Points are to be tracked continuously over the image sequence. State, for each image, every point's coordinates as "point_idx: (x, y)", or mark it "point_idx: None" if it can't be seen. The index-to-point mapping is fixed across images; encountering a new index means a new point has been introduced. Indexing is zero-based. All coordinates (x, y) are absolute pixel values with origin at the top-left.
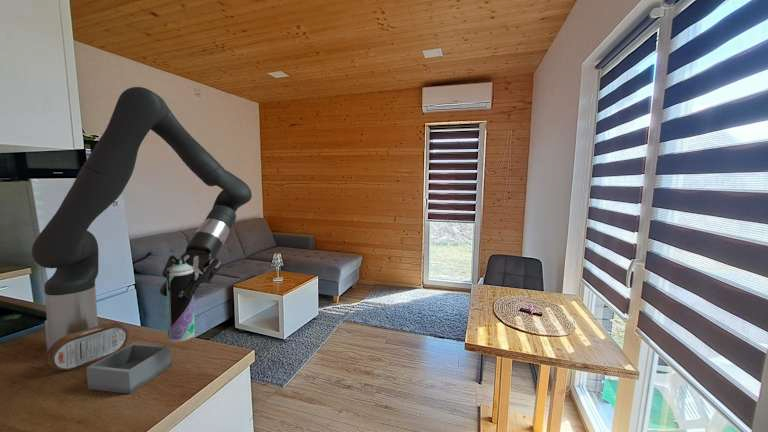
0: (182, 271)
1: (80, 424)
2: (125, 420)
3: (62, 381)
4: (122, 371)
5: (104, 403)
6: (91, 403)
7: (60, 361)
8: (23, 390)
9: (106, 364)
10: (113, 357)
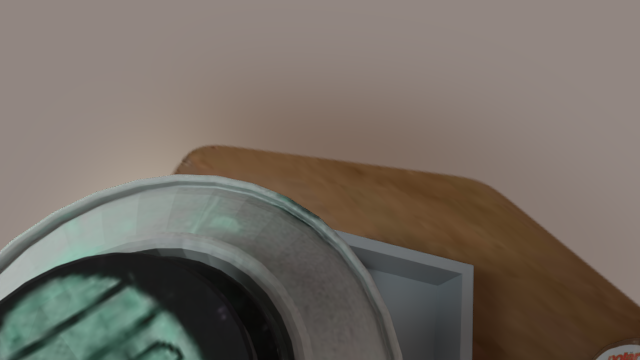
0: (65, 213)
1: (349, 163)
2: (264, 162)
3: (538, 321)
4: (351, 234)
5: (353, 220)
6: (383, 224)
7: (613, 358)
8: (585, 288)
9: (452, 315)
10: (456, 338)
